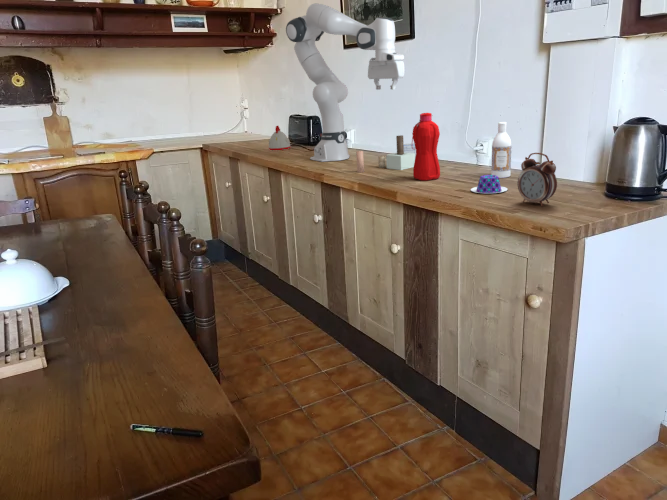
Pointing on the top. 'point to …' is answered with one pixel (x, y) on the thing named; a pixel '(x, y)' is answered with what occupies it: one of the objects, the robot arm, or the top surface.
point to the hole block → (400, 161)
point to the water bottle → (426, 148)
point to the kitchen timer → (279, 140)
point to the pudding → (489, 185)
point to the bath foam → (501, 153)
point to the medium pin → (360, 161)
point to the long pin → (400, 145)
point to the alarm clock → (537, 180)
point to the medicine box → (409, 148)
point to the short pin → (381, 161)
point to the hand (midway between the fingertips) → (385, 89)
